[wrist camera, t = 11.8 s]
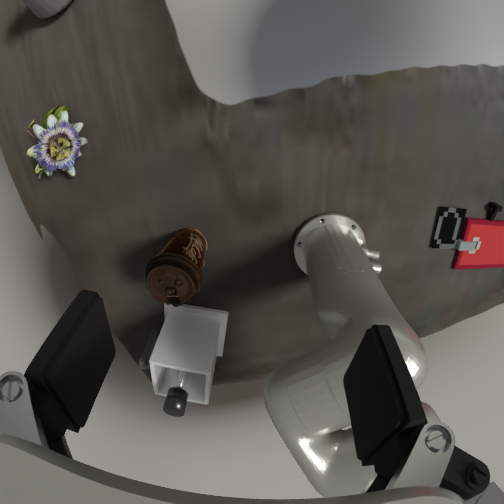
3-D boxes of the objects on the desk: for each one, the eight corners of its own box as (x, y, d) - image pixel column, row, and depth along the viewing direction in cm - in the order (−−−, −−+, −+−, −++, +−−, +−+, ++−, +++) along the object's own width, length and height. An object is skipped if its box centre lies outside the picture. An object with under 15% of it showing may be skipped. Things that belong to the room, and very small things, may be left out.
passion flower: (98, 135, 47) (85, 182, 42) (52, 147, 46) (35, 193, 41) (81, 89, 37) (59, 133, 32) (31, 105, 36) (5, 150, 31)
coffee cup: (197, 273, 54) (180, 320, 43) (158, 250, 52) (132, 291, 41) (222, 239, 51) (209, 282, 39) (181, 212, 48) (155, 249, 37)
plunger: (215, 321, 58) (198, 404, 41) (212, 348, 62) (197, 426, 45) (175, 314, 58) (147, 393, 40) (175, 341, 62) (152, 416, 44)
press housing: (228, 311, 58) (219, 369, 45) (222, 354, 64) (214, 408, 51) (155, 298, 57) (130, 351, 44) (158, 342, 64) (139, 393, 50)
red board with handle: (441, 195, 44) (423, 266, 52) (448, 200, 42) (429, 274, 49) (529, 207, 43) (512, 263, 51) (537, 212, 41) (518, 269, 48)
